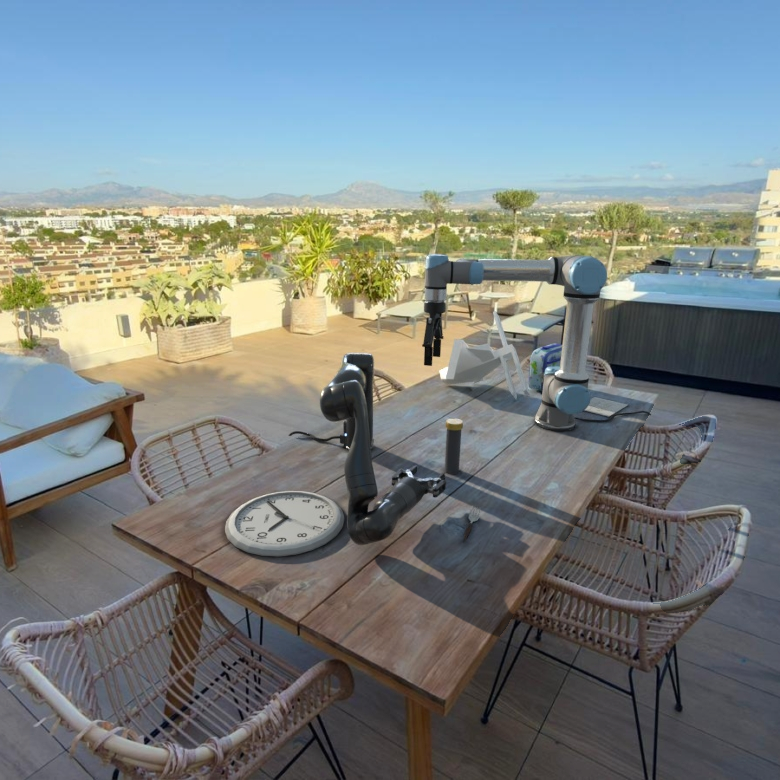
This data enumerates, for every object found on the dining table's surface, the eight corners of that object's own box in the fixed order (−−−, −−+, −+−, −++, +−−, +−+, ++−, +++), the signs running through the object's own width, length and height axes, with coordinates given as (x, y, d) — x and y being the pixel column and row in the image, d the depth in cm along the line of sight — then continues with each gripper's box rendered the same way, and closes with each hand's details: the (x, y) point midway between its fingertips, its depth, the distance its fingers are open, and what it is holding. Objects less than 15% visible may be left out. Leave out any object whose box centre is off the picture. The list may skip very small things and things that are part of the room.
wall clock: (344, 547, 121) (211, 552, 118) (344, 554, 121) (212, 558, 119) (344, 486, 149) (237, 489, 147) (344, 491, 150) (237, 494, 147)
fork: (457, 543, 126) (458, 536, 126) (471, 511, 141) (471, 504, 140) (468, 545, 125) (468, 538, 125) (480, 513, 140) (481, 506, 139)
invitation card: (608, 416, 214) (573, 407, 224) (608, 416, 214) (573, 408, 224) (628, 404, 229) (594, 396, 238) (628, 405, 229) (594, 397, 238)
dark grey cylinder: (452, 475, 161) (454, 426, 157) (441, 470, 165) (444, 422, 160) (461, 471, 164) (464, 423, 159) (451, 466, 167) (454, 419, 163)
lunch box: (544, 395, 239) (549, 351, 233) (524, 390, 247) (528, 347, 240) (571, 384, 257) (577, 343, 251) (552, 380, 264) (556, 339, 258)
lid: (454, 431, 157) (455, 425, 156) (442, 426, 160) (442, 420, 160) (466, 427, 160) (466, 421, 159) (453, 423, 164) (454, 417, 163)
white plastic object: (461, 429, 252) (437, 405, 227) (444, 352, 274) (420, 323, 250) (535, 404, 240) (518, 377, 215) (510, 326, 262) (492, 293, 237)
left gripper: (428, 490, 131) (453, 466, 144) (379, 477, 137) (407, 454, 151) (427, 517, 133) (452, 490, 147) (379, 502, 140) (407, 478, 153)
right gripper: (432, 296, 192) (430, 352, 198) (415, 305, 169) (413, 368, 176) (452, 297, 190) (449, 354, 196) (438, 306, 167) (435, 370, 174)
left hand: (429, 472), depth 149 cm, fingers open, 8 cm apart
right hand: (432, 360), depth 186 cm, fingers open, 13 cm apart
